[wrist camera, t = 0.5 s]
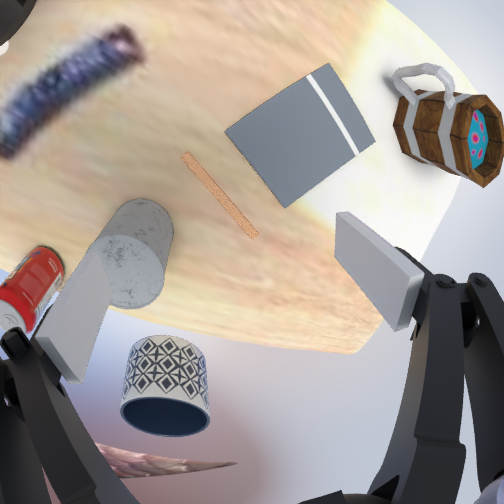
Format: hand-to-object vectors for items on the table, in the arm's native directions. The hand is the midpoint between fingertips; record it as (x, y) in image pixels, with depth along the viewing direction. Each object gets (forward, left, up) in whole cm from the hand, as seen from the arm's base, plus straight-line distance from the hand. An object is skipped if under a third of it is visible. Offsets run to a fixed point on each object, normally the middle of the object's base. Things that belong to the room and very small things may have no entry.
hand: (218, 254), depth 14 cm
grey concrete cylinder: (0, -13, -25) cm, 28 cm away
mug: (+11, +33, -25) cm, 43 cm away
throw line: (+4, -1, -25) cm, 25 cm away
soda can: (-8, -31, -25) cm, 41 cm away
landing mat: (+4, +14, -25) cm, 29 cm away
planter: (+22, -31, -25) cm, 46 cm away
